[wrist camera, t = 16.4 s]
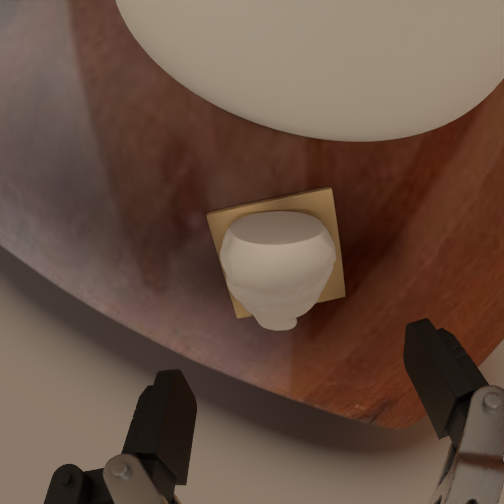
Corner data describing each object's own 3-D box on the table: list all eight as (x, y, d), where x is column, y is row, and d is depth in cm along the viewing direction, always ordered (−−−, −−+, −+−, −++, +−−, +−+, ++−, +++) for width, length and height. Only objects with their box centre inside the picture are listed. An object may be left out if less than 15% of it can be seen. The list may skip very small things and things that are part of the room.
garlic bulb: (233, 306, 19) (227, 367, 14) (222, 212, 17) (209, 253, 12) (321, 300, 19) (340, 359, 14) (323, 206, 17) (351, 245, 12)
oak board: (237, 313, 20) (237, 319, 20) (207, 211, 18) (205, 215, 17) (343, 292, 20) (346, 297, 19) (329, 185, 17) (332, 188, 16)
